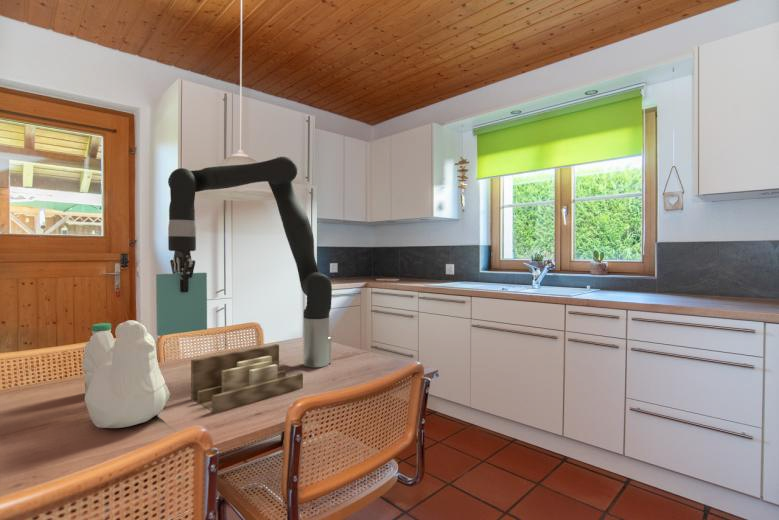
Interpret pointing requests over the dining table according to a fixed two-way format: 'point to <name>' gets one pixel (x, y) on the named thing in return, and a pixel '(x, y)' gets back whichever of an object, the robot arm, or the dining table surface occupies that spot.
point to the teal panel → (181, 304)
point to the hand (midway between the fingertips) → (182, 291)
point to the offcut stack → (249, 373)
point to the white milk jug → (123, 377)
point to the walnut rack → (210, 388)
